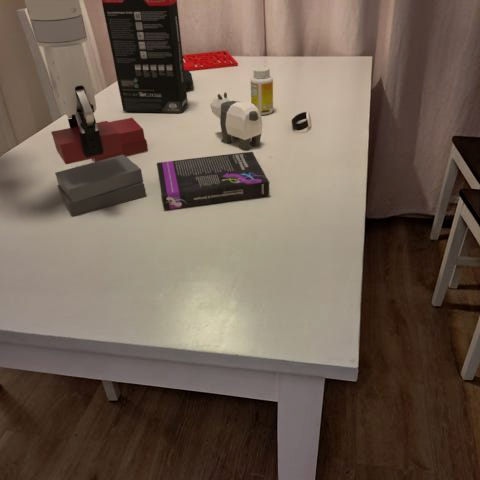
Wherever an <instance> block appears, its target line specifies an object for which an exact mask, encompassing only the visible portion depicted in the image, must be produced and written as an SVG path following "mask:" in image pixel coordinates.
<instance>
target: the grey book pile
mask: <svg viewBox="0 0 480 480" xmlns="http://www.w3.org/2000/svg"><path fill="white" fill-rule="evenodd" d="M54 174H55V177H56V180H57V185H56V186H57V188H58V192H59V194H60V197H61V199H62V201H63V202H64V203H63V204H65V207H66V208H67V210H68V212H69V213H70V215H71V217H74V216H78V215H82V214H86V213H89V212H93V211H97V210H100V209H104V208H108V207H111V206H115V205H116V206H117V205H119V204H122V203H126V202H129V201H134V200H137V199H141V198H144V197H147V193H146V187H145V184H144V178H143V173H142V169H141V168H140V167H139V165H137V164H136V163H135V162H133V161H132V160H130V158H128V156H125V155H120V156H116V157H112V158H109V159H105V160H101V161H97V162H94V161H93V162H90V163H85V164H83V165H79V166H75V167H72V168H68V169H64V170H60V171H56V172H54Z"/></svg>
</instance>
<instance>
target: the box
mask: <svg viewBox="0 0 480 480" xmlns="http://www.w3.org/2000/svg"><path fill="white" fill-rule="evenodd" d="M156 168H157V175H158V182H159V189H160V197H161V203H162V207H163V210H164V211H167V210H168V211H169V210H174V209H181V208H188V207H195V206H202V205H210V204H211V205H212V204H218V203H224V202H232V201H241V200H247V199H256V198H261V197H262V198H263V197H269V196H270V183H271V181H270V180H269V178H268V177H267V176H266V174H265V172H264V170H263V168H262V166H261V165H260V163H259V161H258V159H257V157H256V155H255V153H254V152H253V151H245V152H238V153H237V152H235V153H227V154H220V155H219V154H218V155H212V156H202V157H193V158H184V159H177V160H168V161H160V162H157V163H156Z"/></svg>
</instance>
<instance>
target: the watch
mask: <svg viewBox="0 0 480 480" xmlns="http://www.w3.org/2000/svg"><path fill="white" fill-rule="evenodd" d="M303 120H304V121H303ZM301 121H302V122H301ZM291 125H292V128H293V130H294V131H304V130H305V129H307V128H311V127H312V118H311V114H310V112H309V111H308V110H307V111H303V112H299V113H298V114H296V115H295V116H294V117H293V118H292V119H291Z"/></svg>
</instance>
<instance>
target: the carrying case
mask: <svg viewBox="0 0 480 480" xmlns="http://www.w3.org/2000/svg"><path fill="white" fill-rule="evenodd" d="M184 73H185V82H186V91H187V92H188V91H191V90H192V89H193V87H194V80H193V76H192V75H193V74H192V73H191V72H190V70H184Z"/></svg>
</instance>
